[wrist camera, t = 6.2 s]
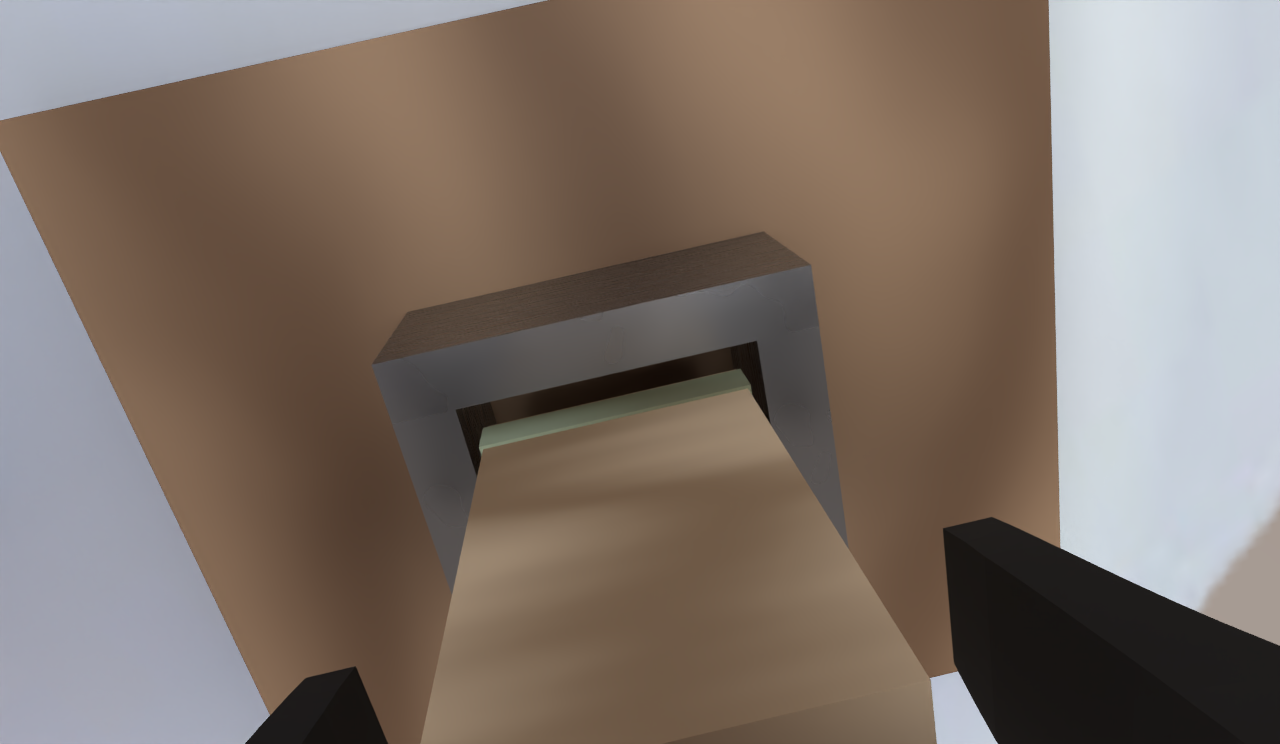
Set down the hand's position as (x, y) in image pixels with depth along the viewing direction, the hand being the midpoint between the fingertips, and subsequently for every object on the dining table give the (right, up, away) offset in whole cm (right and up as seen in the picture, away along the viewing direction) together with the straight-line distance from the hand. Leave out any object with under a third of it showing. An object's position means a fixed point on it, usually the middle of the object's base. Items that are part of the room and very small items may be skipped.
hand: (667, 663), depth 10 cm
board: (-1, +3, +8) cm, 8 cm away
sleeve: (-1, +2, +6) cm, 7 cm away
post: (0, +1, +4) cm, 4 cm away
